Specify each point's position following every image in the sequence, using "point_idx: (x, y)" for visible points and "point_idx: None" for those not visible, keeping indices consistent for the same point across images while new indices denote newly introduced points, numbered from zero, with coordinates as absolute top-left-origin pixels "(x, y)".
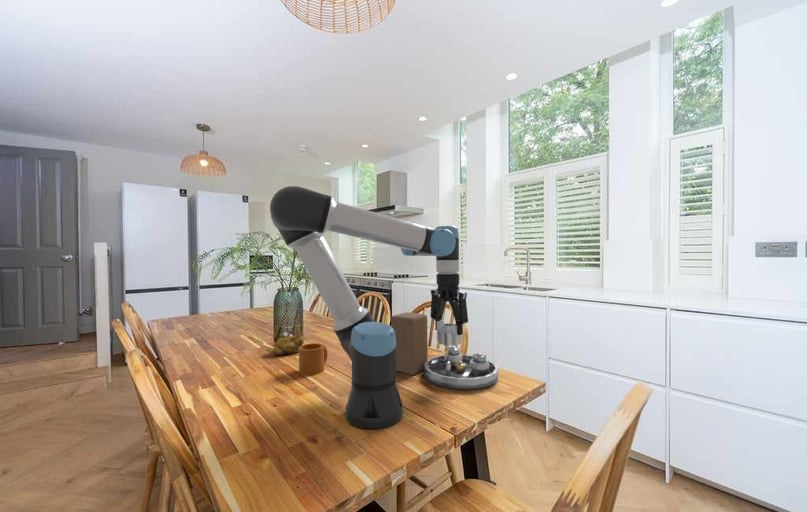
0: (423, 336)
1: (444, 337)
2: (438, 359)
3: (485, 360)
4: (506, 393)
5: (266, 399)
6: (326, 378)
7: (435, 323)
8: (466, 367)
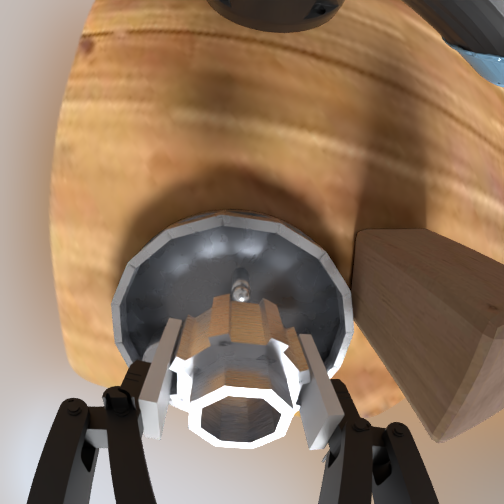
0: (402, 353)
1: (226, 317)
2: (333, 356)
3: None
4: (77, 285)
5: None
6: (489, 99)
7: (354, 407)
8: None
